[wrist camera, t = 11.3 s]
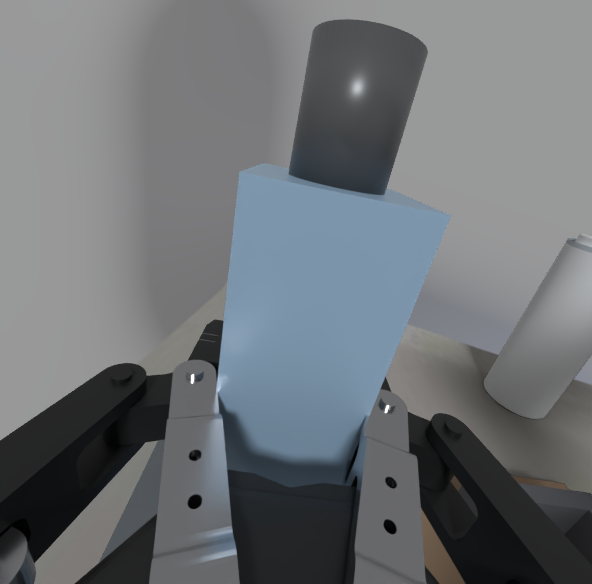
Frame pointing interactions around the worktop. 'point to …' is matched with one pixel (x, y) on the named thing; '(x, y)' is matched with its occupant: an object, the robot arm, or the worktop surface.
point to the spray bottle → (548, 337)
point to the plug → (324, 263)
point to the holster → (547, 495)
